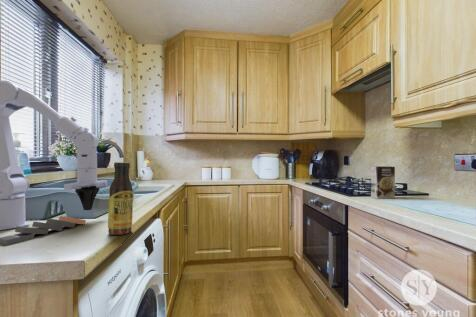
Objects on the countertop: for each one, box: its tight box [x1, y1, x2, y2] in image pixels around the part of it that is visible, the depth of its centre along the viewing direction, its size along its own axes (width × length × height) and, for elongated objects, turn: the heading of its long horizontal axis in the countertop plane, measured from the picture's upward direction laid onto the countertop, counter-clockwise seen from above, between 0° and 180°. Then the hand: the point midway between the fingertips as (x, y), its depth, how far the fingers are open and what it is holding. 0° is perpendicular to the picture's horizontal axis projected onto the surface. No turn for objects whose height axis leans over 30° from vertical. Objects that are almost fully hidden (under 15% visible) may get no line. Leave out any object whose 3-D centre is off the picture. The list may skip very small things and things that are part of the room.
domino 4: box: [45, 218, 76, 228], centre depth 77 cm, size 1×4×6 cm
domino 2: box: [14, 226, 50, 235], centre depth 70 cm, size 1×4×6 cm
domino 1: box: [0, 232, 35, 246], centre depth 66 cm, size 1×4×6 cm
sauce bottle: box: [107, 161, 134, 236], centre depth 73 cm, size 7×6×20 cm
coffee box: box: [370, 165, 396, 200], centre depth 133 cm, size 9×6×16 cm
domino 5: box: [58, 215, 87, 226], centre depth 81 cm, size 1×4×6 cm
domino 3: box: [31, 221, 64, 232], centre depth 74 cm, size 1×4×6 cm
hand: (87, 209), depth 86 cm, fingers closed
